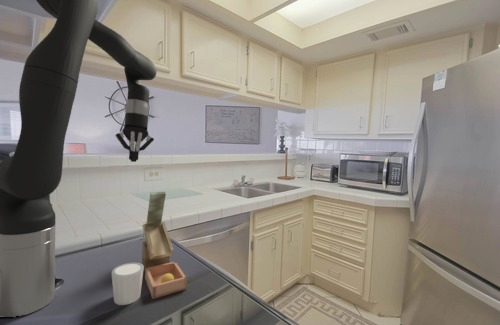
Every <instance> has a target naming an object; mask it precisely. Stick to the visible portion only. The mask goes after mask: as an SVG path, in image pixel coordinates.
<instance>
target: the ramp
mask: <svg viewBox="0 0 500 325" xmlns="http://www.w3.org/2000/svg"><path fill="white" fill-rule="evenodd" d="M165 200H166V192H165V191H159V192H158V191H157V192H156V191H154V192H150V193H149V200H148V208H147V215H146V216H147V217H146V222H142V228H143V233H144V236H145V237H144V238H145V241H146V243H147V247H148V252H149V257H150V260H152V259H157V258H162V257H167V256H169V257H170V256H174V255H173V254H174V247H173V244H172V241H171V238H170V234H169V232H168V229H167V226H166V223H165V221H164V220H163V215H164V214H163V213H164V208H165Z"/></svg>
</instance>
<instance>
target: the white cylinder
mask: <svg viewBox="0 0 500 325" xmlns="http://www.w3.org/2000/svg"><path fill="white" fill-rule="evenodd" d="M143 276H144V266H143V265H142V263H140V262H127V263H124V264H120V265H118V266H116V267H114V268H113V269H112V270H111V282H112V293H113V301H114V304H116V305H117V306H126V305H130V304H133V303H135V302H136V301H138V300H139V299H140V298H141V295H142V294H141V291H142V287H143V286H142V284H143V278H144V277H143Z"/></svg>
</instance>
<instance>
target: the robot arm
mask: <svg viewBox="0 0 500 325" xmlns="http://www.w3.org/2000/svg"><path fill="white" fill-rule="evenodd" d="M36 2H37V4H38V5H39V6H40V7H41V8H42V10H44V11H45V12H46V13H47V14H49V15H50V16H52V17H53V18H55V19H56V20H55V24H54V25H53V27H52V29H51V30H50V31H49V32H48V34H47V35H46V36H45V37H44V38H43V39H42V40H41V41H40V42H39V43H38V44H37V45H36V46H35V48H33V49H32V51H31V52H30V53H29V54H28V56H27V57H26V60H25V62H24V66H23V69H22V70H23V71H22V75H21V79H20V82H19V89H18V95H19V96H18V102H19V111H20V121H21V122H20V124H21V125H20V133H19V137H18V140H17V141H18V142H17V144H16V147H15V150H14V152H13V153H14V154H12V155H11V156H8V157H6V158H5V159H3V160H1V162H0V316H4V317H13V318H17V317H16V316H19V317H23V316H26V315H29V314H31V313H32V314H33V313H35V312H36V311H38V310H41V309H43V308H45V307H46V306H48V305H49V304H51V302H53V300H54V298H55V291H56V290H55V289H56V285H55V284H56V282H55V281H56V213H55V210H54V209H53V207H52V204H51V194H52V193H54V192H55V190H57V188H58V187H59V186H60V182H61V180H62V175H63V163H64V162H63V161H64V149H65V140H66V139H65V138H66V135H67V130H68V126H69V123H70V118H71V114H72V110H73V105H74V102H75V98H76V93H77V88H78V82H79V79H80V72H81V67H82V62H83V58H84V55H85V51H86V47H87V44H88V40H89V41H90V42H92V43H93V44H94V45H96V46H97V47H98V48H100V49H101V50H102V51H104V52H105V53H106V54H107V55H108V56H110V57H111V58H112V59H113V60H114V61H115V62H116V63H117V64H119V65H120V66H121V67H123V68H124V69H123V70H124V71H123V72H124V76H125V79H126V84H127V100H126V106H125V110H124V112H125V114H124V126H123V129H122V130H121V132H118V133H116V134H115V137H116V139H117V140H118V142H119V143H120V144H121V145H122V147H123V148H124V149H125V150H127V151H128V159H129V160H130V162H132V163H136V162H137V161H138V160H139V154H140V152H141V151H145V149H147V148H148V146H149V145H151V143H153V142H154V140H155V139H154V137H152V136H150V135H149V130H148V125H149V111H150V107H149V102H150V100H149V99H150V89H149V88H148V87H147V86H145V85H142V84H139V81H152V80H154V79H155V77H156V76H157V67H156V66H155V64H154V62H153V61H152V60H151V59H150V58H148V57H147V56H145V55H144V54H143V53H141V52H139V51H138V50H136V49H134V47H133V46H132V44H130V43H129V42H128V40H127V39H125V38H124V36H122V35H121V34H119V33H118V32H117V31H115V30H113V29H112V28H110V27H108V26H106V25H105V24H103V23H102V22H100V21H99V20H97V19H96V17H97V15H98V14H97V13H98V6H99V4H98V3H99V2H98V0H36ZM124 138H126V140H127V141H128V142H129V143H127V142H126V141H125V139H124ZM144 140H145V141H146V142H145V143H144V144H142V146H141V143H142V142H143V141H144ZM128 144H129V145H128ZM22 315H23V316H22Z"/></svg>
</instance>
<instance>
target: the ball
mask: <svg viewBox="0 0 500 325" xmlns="http://www.w3.org/2000/svg"><path fill="white" fill-rule="evenodd" d="M171 280H174V276H173V275H172V274H170V273H167V274H165V275H164V276H163V277H162V279H161V283H164V282H168V281H171Z"/></svg>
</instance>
